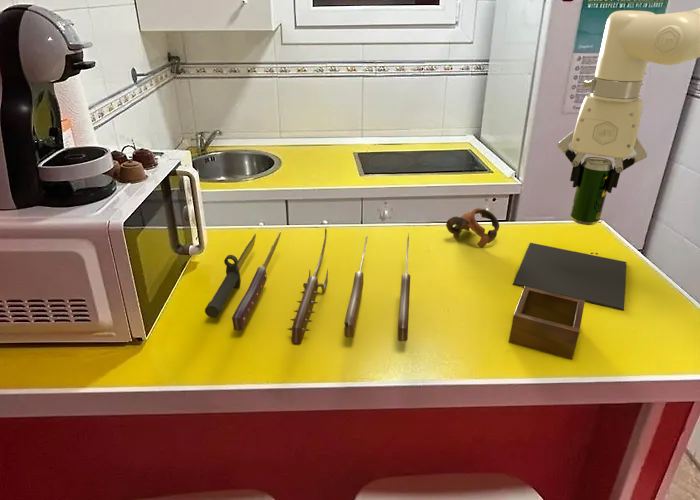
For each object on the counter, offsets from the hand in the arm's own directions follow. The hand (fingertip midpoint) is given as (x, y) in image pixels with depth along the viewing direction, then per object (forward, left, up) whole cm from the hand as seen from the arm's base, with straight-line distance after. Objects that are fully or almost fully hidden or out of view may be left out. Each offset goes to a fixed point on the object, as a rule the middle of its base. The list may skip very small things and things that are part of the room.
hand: (592, 186), depth 98 cm
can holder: (+2, +24, -19) cm, 31 cm away
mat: (0, 0, -19) cm, 19 cm away
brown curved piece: (+23, -6, -19) cm, 31 cm away
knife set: (+43, +30, -19) cm, 56 cm away
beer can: (0, 0, -7) cm, 7 cm away
